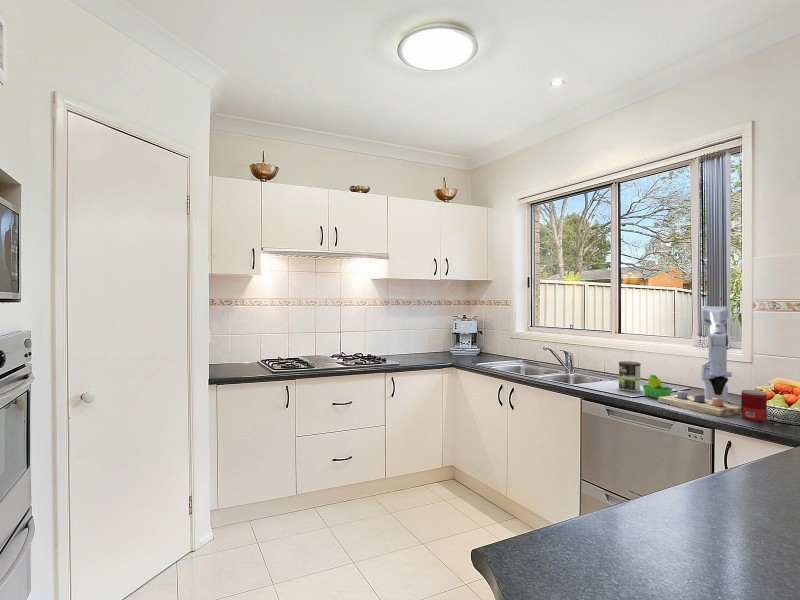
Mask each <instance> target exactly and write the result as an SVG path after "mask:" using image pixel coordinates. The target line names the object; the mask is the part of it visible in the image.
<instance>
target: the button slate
mask: <svg viewBox="0 0 800 600" xmlns="http://www.w3.org/2000/svg"><path fill="white" fill-rule="evenodd" d="M688 394H689V392H688V391H685V390H677V393H676V395H677V398H678V399H682V400H686V399H688V396H689V395H688Z"/></svg>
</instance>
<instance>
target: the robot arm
mask: <svg viewBox="0 0 800 600" xmlns="http://www.w3.org/2000/svg"><path fill="white" fill-rule="evenodd" d="M728 310H729V309H728V306H706V305H704V306H702V307H701V322H702V324H703V325H704V326H706V328H707V333H708V334H707V335H708V336H707V337H708V339H707V340H708V346H707V347H708V348H707V349H708V360H707V361H705V362H704V363H702V364H701V369H700V370H701V372H700V374H701V375H700V378H701V381H702V382H704V395H705V399H707V400H712V398H722V399H724V403H727V404H729V403H730V402H731V401H730V400H729V387H728V385H727V382H728V381H729V378H732V376H733V373H732V372H731V371H728V368H727V366H728V365H727V364H728V362H727V361H728V360H727V359H728V358H727V357H728V356H727V355H728V347H729V344H730V343H729V335H728V334H727V331H726V326H725V325H726V323H727V321H728V315H729V314H728V313H729V311H728ZM728 402H729V403H728Z"/></svg>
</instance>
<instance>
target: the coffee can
mask: <svg viewBox="0 0 800 600" xmlns="http://www.w3.org/2000/svg"><path fill="white" fill-rule="evenodd" d="M641 364H642V363H641V362H638V361H629V360H628V361H626V360H625V361H619V362H618V390H620V391H623V392H640V391H641Z"/></svg>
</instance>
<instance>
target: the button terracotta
mask: <svg viewBox="0 0 800 600" xmlns="http://www.w3.org/2000/svg"><path fill="white" fill-rule="evenodd" d="M712 406H715V407H720V408H721V407H724V399H722V398H712Z"/></svg>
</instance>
